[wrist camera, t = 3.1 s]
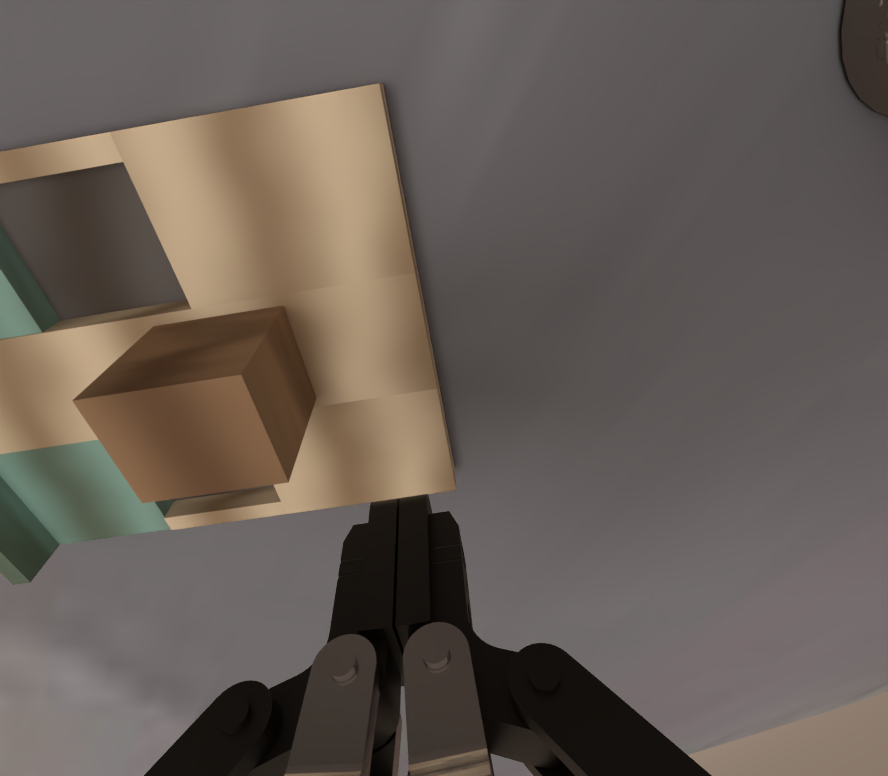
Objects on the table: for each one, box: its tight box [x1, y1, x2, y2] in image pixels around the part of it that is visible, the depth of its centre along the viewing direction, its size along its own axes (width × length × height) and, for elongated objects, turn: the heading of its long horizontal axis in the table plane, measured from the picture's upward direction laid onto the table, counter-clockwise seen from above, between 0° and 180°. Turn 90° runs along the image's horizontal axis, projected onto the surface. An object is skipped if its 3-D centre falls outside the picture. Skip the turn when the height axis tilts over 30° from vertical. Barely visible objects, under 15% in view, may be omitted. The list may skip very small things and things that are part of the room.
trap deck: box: [0, 83, 456, 585], centre depth 23 cm, size 25×20×4 cm
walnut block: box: [72, 305, 316, 503], centre depth 20 cm, size 6×5×6 cm
